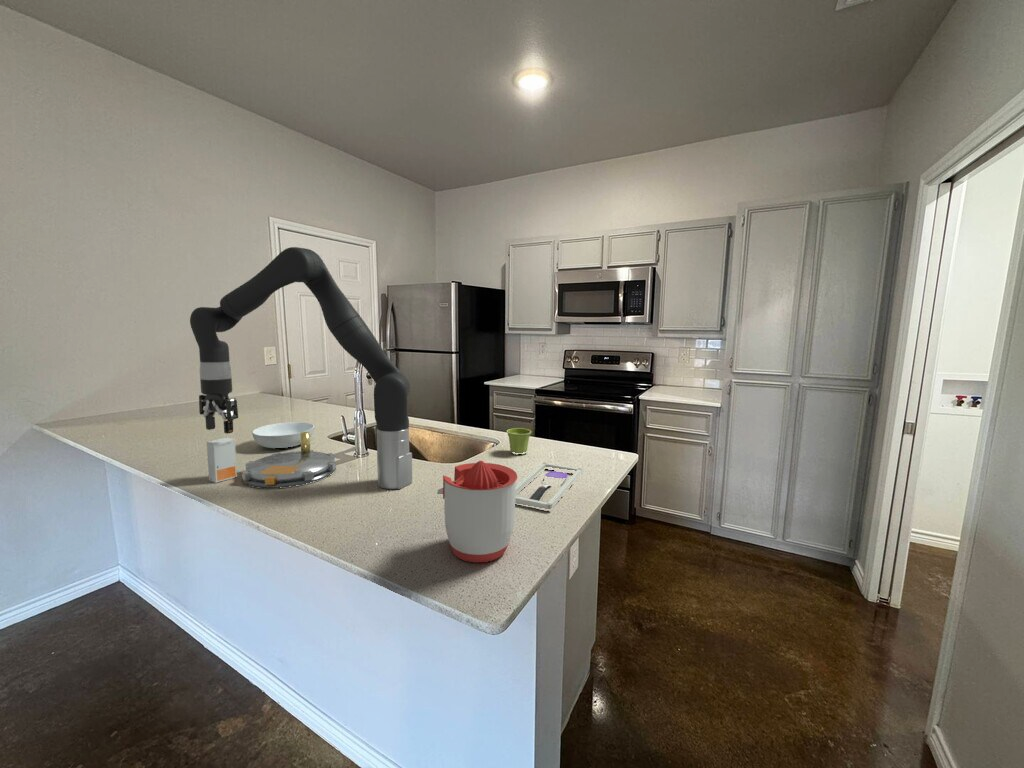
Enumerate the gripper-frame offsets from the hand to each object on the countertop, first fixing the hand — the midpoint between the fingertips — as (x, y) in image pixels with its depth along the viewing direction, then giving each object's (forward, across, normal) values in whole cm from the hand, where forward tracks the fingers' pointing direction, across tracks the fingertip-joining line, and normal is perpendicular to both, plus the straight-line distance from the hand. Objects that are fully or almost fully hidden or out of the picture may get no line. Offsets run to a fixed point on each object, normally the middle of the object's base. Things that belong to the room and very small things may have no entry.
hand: (219, 431), depth 124 cm
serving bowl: (+15, +15, -32) cm, 38 cm away
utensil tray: (+14, -89, -40) cm, 99 cm away
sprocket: (+13, -13, -13) cm, 23 cm away
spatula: (+15, -90, -38) cm, 98 cm away
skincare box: (+15, 0, 0) cm, 15 cm away
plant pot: (+14, -68, -67) cm, 97 cm away
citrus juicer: (+15, -87, 0) cm, 88 cm away
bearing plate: (+15, -13, -13) cm, 24 cm away
